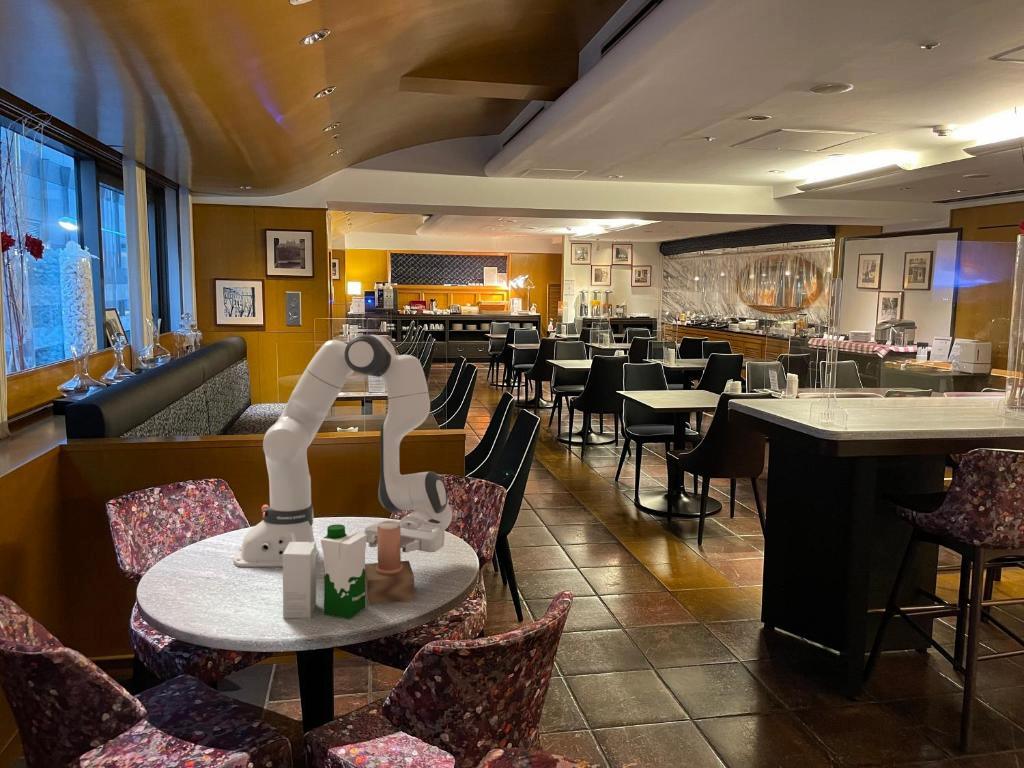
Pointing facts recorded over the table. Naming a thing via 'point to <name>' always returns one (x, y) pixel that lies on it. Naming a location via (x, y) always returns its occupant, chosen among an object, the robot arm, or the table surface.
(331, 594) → the milk carton
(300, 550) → the skincare box
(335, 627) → the table surface
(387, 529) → the canister
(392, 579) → the block
